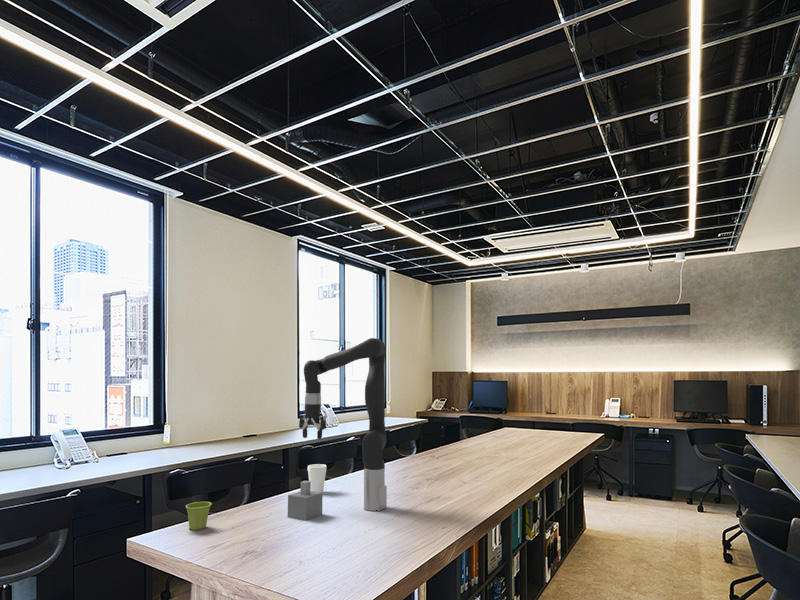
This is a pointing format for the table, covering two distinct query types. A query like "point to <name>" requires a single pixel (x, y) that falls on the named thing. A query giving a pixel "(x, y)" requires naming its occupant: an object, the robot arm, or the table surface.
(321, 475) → the foam cup
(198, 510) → the plant pot
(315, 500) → the grey block with knob
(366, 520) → the table surface
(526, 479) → the table surface
